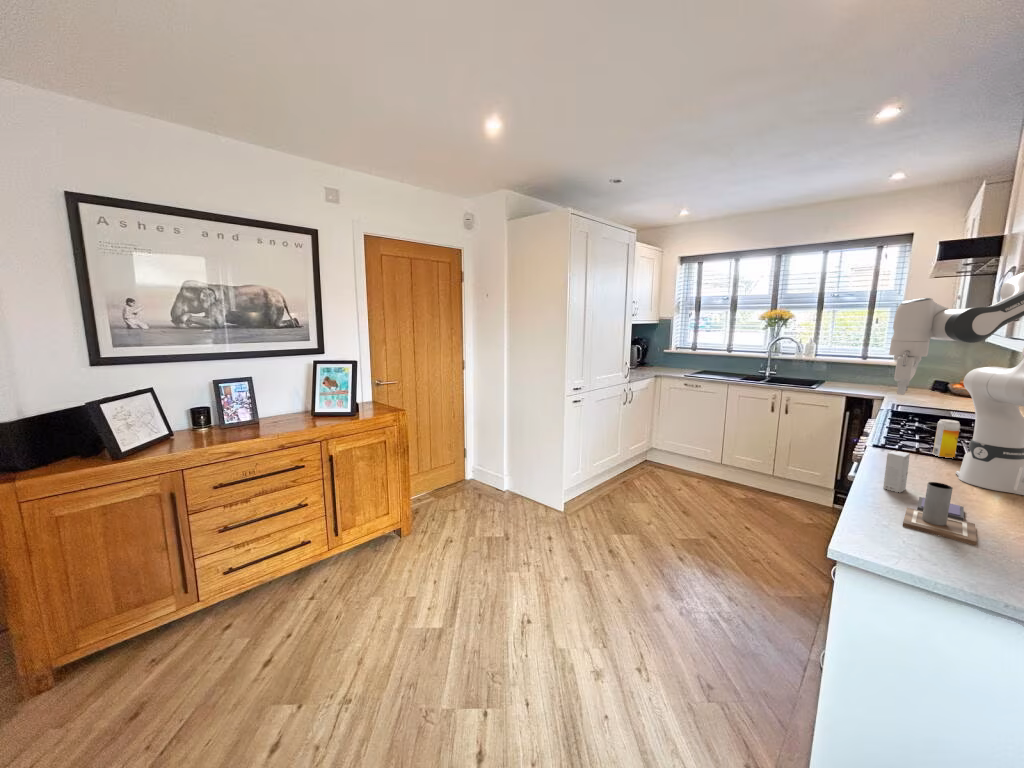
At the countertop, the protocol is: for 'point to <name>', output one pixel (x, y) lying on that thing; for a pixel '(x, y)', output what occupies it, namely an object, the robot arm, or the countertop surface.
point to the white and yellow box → (946, 438)
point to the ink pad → (954, 510)
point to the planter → (937, 503)
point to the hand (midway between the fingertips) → (902, 392)
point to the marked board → (942, 527)
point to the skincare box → (896, 471)
